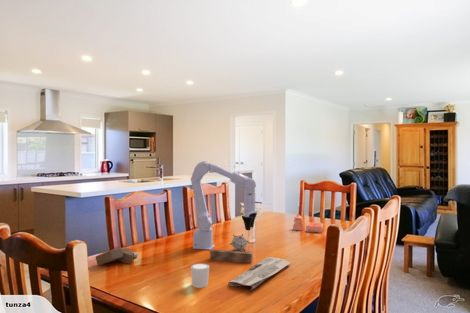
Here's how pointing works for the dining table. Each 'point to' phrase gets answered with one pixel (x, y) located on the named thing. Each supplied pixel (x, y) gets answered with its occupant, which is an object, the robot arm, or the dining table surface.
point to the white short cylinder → (200, 275)
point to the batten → (231, 256)
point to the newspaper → (259, 272)
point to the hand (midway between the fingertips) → (249, 228)
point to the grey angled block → (116, 256)
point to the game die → (239, 242)
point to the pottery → (309, 227)
